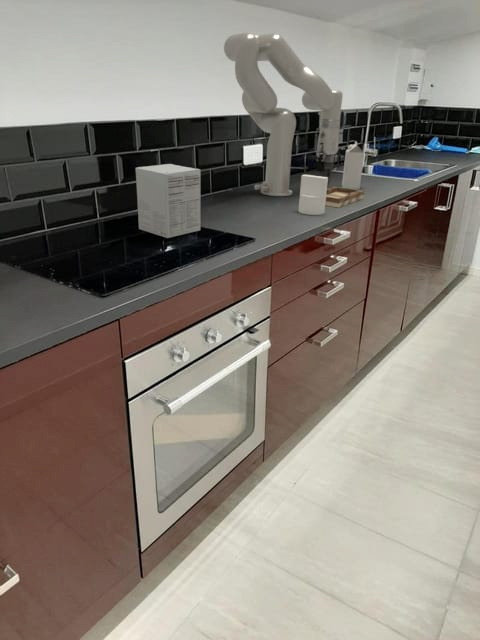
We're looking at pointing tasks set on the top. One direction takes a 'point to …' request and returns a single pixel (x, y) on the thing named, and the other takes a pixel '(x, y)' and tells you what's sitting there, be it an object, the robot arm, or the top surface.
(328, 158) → the beverage cup
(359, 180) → the milk carton
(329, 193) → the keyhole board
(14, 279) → the top surface
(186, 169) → the supplement box
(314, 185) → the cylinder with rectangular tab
